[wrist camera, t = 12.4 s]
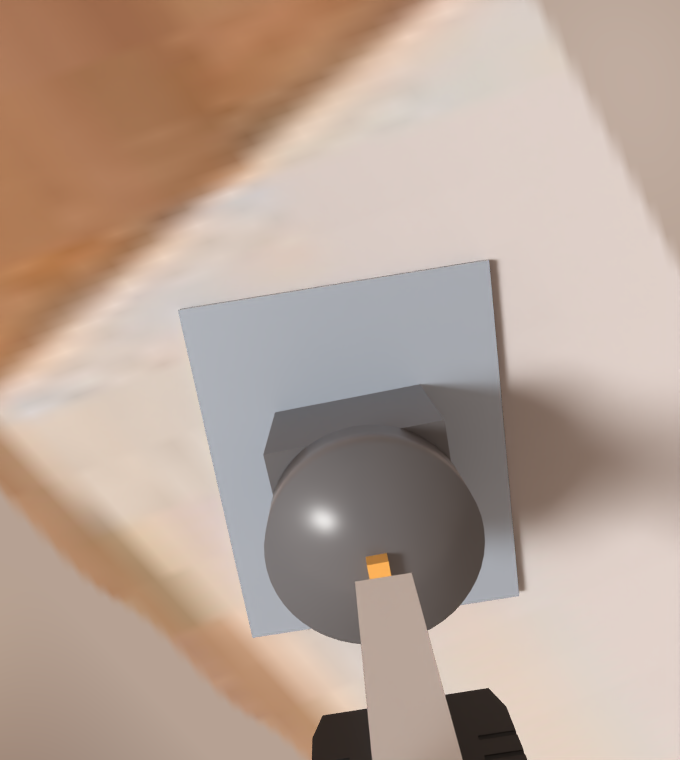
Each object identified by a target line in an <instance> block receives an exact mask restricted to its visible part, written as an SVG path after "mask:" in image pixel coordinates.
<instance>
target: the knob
mask: <svg viewBox="0 0 680 760" xmlns="http://www.w3.org/2000/svg"><path fill="white" fill-rule="evenodd" d="M263 456H264V460H265V464H266V469H267V473H268V477H269V481H270V485H271V489H272V493H273V498H272V501H271V506H270V511H269V516H268V521H267V526H266V532H265V540H264V558H265V563H266V569H267V573H268V576H269V579H270V582H271V584H272V586H273V588H274V590H275V592H276V594H277V595H278V597H279V598H280V600H281V601H282V603H283V604H284V605H285V606H286V607H287V609H288V610H289V611H290V612H291V613H292V614H293V615H294V616H295V617H296V618H298V619H299V620H300V621H301V622H302V623H304V624H305V625H307V626H309V627H310V628H312V629H313V630H315V631H317V632H319V633H321V634H323V635H325V636H328V637H331V638H334V639H337V640H340V641H345V642H350V643H357V644H361V639H360V629H359V618H358V608H357V597H356V587H355V582H356V581H362V580H369V579H375V578H381V577H388V576H394V575H400V574H407V573H412V576H413V580H414V583H415V587H416V591H417V594H418V598H419V602H420V605H421V609H422V613H423V616H424V620H425V624H426V627H427V630H429V629H431V628H433V627H435V626H436V625H438V624H439V623H441V622H442V621H444V620H445V619H446V618H447V617H448V616H449V615H451V614H452V613H453V612H454V611H455V610H456V609H457V608H458V607H459V606H460V605H461V604H462V602H463V601H464V600H465V598H466V597H467V596H468V594H469V593H470V591H471V590H472V588H473V586H474V584H475V582H476V580H477V578H478V575H479V572H480V570H481V567H482V562H483V558H484V550H485V533H484V526H483V521H482V516H481V514H480V511H479V508H478V506H477V503H476V501H475V500H474V498H473V496H472V494H471V492H470V491H469V489H468V487H467V486H466V484H465V482H464V481H463V479H462V477H461V476H460V474H459V472H458V471H457V469H456V467H455V466H454V465H453V463H452V462H451V458H450V452H449V445H448V439H447V432H446V425H445V420H444V418H443V417H442V415H441V414H440V413H439V411H438V410H437V408H436V407H435V405H434V404H433V402H432V401H431V400H430V398H429V397H428V395H427V394H426V392H425V391H424V390H423V388H422V387H421V385H420V384H418V385H413V386H408V387H403V388H398V389H393V390H388V391H382V392H377V393H372V394H367V395H362V396H357V397H351V398H346V399H341V400H336V401H331V402H326V403H321V404H315V405H310V406H305V407H300V408H295V409H290V410H285V411H279V412H275V414H274V418H273V421H272V425H271V429H270V432H269V436H268V439H267V443H266V447H265V450H264V454H263Z"/></svg>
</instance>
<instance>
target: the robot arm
mask: <svg viewBox="0 0 680 760" xmlns="http://www.w3.org/2000/svg"><path fill="white" fill-rule="evenodd" d="M355 587H356V597H357V608H358V618H359V629H360V639H361V649H362V660H363V670H364V680H365V691H366V701H367V709H362V710H356V711H349V712H343V713H336V714H330V715H323V716H322V718H321V720H320V723H319V725H318V727H317V729H316V732H315V734H314V736H313V738H312V760H527V758H526V755H525V754H524V751H523V748H522V745H521V743H520V740H519V738H518V735H517V734H516V730H515V728H514V725H513V723H512V720H511V718H510V715H509V713H508V710H507V708H506V706H505V705H504V704H503V703H502V702H501V701H500V700H499V699H498V698H497V697H496V696H495V695H494V694H493V692H492V691H491V690H490V689H489V688H486V689H480V690H473V691H467V692H460V693H454V694H448V695H445V693H444V690H443V686H442V682H441V679H440V675H439V671H438V668H437V664H436V660H435V657H434V653H433V649H432V646H431V642H430V638H429V635H428V631H427V627H426V624H425V620H424V616H423V613H422V609H421V605H420V602H419V598H418V594H417V591H416V587H415V583H414V580H413V576H412V573H407V574H400V575H394V576H388V577H381V578H375V579H369V580H362V581H356V582H355Z"/></svg>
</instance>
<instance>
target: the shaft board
mask: <svg viewBox="0 0 680 760" xmlns="http://www.w3.org/2000/svg"><path fill="white" fill-rule="evenodd" d="M178 312H179V317H180V321H181V326H182V330H183V334H184V339H185V343H186V348H187V352H188V356H189V361H190V365H191V369H192V374H193V378H194V383H195V387H196V391H197V396H198V400H199V405H200V409H201V413H202V418H203V422H204V427H205V431H206V435H207V440H208V444H209V448H210V453H211V457H212V462H213V466H214V470H215V475H216V479H217V484H218V488H219V492H220V497H221V501H222V506H223V510H224V514H225V519H226V523H227V527H228V532H229V536H230V541H231V545H232V549H233V554H234V558H235V563H236V567H237V571H238V576H239V580H240V584H241V589H242V593H243V598H244V602H245V606H246V611H247V615H248V620H249V624H250V628H251V633H252V637H253V638H254V637H261V636H267V635H273V634H280V633H286V632H292V631H299V630H305V629H312V628H310V627H309V626H307V625H305V624H304V623H302V622H301V621H300V620H299V619H298V618H296V617H295V616H294V615H293V614H292V613H291V612H290V611H289V610H288V609H287V607H286V606H285V605H284V604H283V603H282V601H281V600H280V598H279V597H278V595H277V594H276V592H275V590H274V588H273V586H272V584H271V582H270V579H269V576H268V573H267V569H266V563H265V558H264V540H265V532H266V526H267V521H268V516H269V511H270V506H271V501H272V498H273V493H272V489H271V485H270V481H269V477H268V473H267V469H266V464H265V460H264V456H263V454H264V450H265V447H266V443H267V439H268V436H269V432H270V429H271V425H272V421H273V418H274V414H275V412H279V411H285V410H290V409H295V408H300V407H305V406H310V405H315V404H321V403H326V402H331V401H336V400H341V399H346V398H351V397H357V396H362V395H367V394H372V393H377V392H382V391H388V390H393V389H398V388H403V387H408V386H413V385H418V384H420V385H421V387H422V388H423V390H424V391H425V392H426V394H427V395H428V397H429V398H430V400H431V401H432V402H433V404H434V405H435V407H436V408H437V410H438V411H439V413H440V414H441V415H442V417H443V418H444V420H445V425H446V432H447V439H448V445H449V452H450V458H451V462H452V463H453V465H454V466H455V467H456V469H457V471H458V472H459V474H460V476H461V477H462V479H463V481H464V482H465V484H466V486H467V487H468V489H469V491H470V492H471V494H472V496H473V498H474V500H475V501H476V503H477V506H478V508H479V511H480V514H481V516H482V521H483V526H484V533H485V550H484V558H483V562H482V567H481V570H480V572H479V575H478V578H477V580H476V582H475V584H474V586H473V588H472V590H471V591H470V593H469V594H468V596H467V597H466V598H465V600H464V601H463V602H462V604H461V605H464V604H471V603H477V602H483V601H490V600H496V599H503V598H509V597H515V596H519V590H518V579H517V567H516V556H515V545H514V534H513V523H512V511H511V500H510V489H509V478H508V467H507V455H506V444H505V433H504V422H503V410H502V399H501V388H500V377H499V366H498V354H497V343H496V332H495V321H494V310H493V298H492V287H491V276H490V265H489V260H482V261H476V262H470V263H464V264H457V265H451V266H445V267H439V268H433V269H426V270H420V271H414V272H408V273H402V274H395V275H389V276H383V277H377V278H371V279H364V280H358V281H352V282H346V283H340V284H333V285H327V286H321V287H315V288H308V289H302V290H296V291H290V292H284V293H277V294H271V295H265V296H259V297H253V298H246V299H240V300H234V301H228V302H222V303H215V304H209V305H203V306H197V307H191V308H184V309H180V310H178Z"/></svg>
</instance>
